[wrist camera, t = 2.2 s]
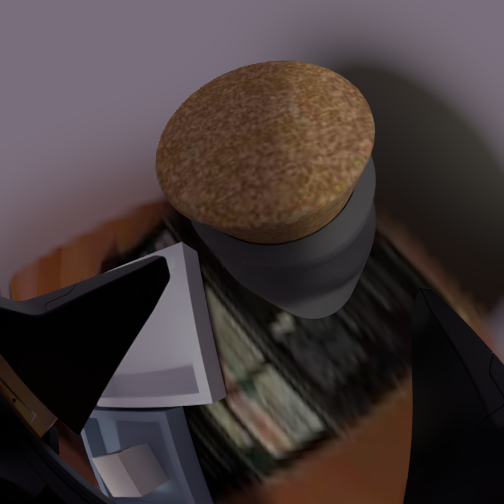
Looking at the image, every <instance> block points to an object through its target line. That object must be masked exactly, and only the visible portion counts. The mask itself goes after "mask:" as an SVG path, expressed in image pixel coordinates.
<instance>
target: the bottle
mask: <svg viewBox="0 0 504 504" xmlns="http://www.w3.org/2000/svg"><path fill="white" fill-rule="evenodd" d="M374 135H375V127H374V120H373V116H372V113H371V110H370V107H369V105H368V103H367V101H366V100H365V98H364V97H363V96H362V94H361V93H360V91H359V90H358V89H357V88H356V87H355V86H354V85H352V84H351V83H350V82H349V81H348V80H346V79H345V78H343V77H342V76H341V75H339V74H337V73H335V72H333V71H331V70H328V69H327V68H323V67H320V66H317V65H314V64H310V63H303V62H296V61H269V62H263V63H258V64H252V65H248V66H244V67H241V68H238V69H236V70H233V71H230V72H228V73H225V74H223V75H221V76H219V77H218V78H216V79H214V80H212V81H211V82H209V83H207V84H205V85H204V86H203V87H201V88H200V89H199V90H197V91H196V92H195V93H193V94H192V95H191V96H190V97H189V98H188V99H187V100H186V101H185V102H184V103H183V104H182V105H181V106H180V107H179V109H178V110H177V111H176V112H175V113H174V115H173V116H172V117H171V119H170V120H169V122H168V123H167V125H166V127H165V129H164V131H163V133H162V135H161V138H160V142H159V145H158V149H157V154H156V173H157V179H158V182H159V184H160V187H161V189H162V191H163V193H164V194H165V196H166V197H167V199H168V200H169V202H170V203H171V205H172V206H173V207H174V208H175V209H176V210H178V211H179V212H180V213H181V214H183V215H184V216H186V217H187V218H189V219H191V222H192V225H193V226H194V228H195V230H196V231H197V233H198V234H199V236H200V237H201V238H202V240H203V241H204V242H205V243H206V244H207V245H208V246H209V247H210V248H211V249H212V250H213V251H214V252H215V253H217V254H218V255H219V257H220V259H221V261H222V263H223V264H224V266H225V267H226V269H227V270H228V271H229V273H230V274H231V275H232V276H233V277H234V278H235V279H236V280H237V281H238V282H240V283H241V284H242V285H243V286H245V287H246V288H247V289H249V290H251V291H252V292H254V293H256V294H257V295H259V296H260V297H262V298H264V299H265V300H267V301H269V302H271V303H272V304H274V305H276V306H278V307H280V308H282V309H284V310H285V311H287V312H289V313H291V314H293V315H296V316H299V317H302V318H307V319H318V318H324V317H326V316H329V315H331V314H333V313H335V312H336V311H338V310H339V309H340V308H341V307H342V306H343V305H344V304H345V303H346V302H347V300H348V299H349V297H350V296H351V294H352V292H353V290H354V288H355V286H356V283H357V281H358V279H359V277H360V275H361V272H362V270H363V268H364V265H365V263H366V261H367V258H368V256H369V253H370V250H371V247H372V244H373V240H374V235H375V230H376V212H375V205H374V201H373V199H374V194H375V186H376V180H375V179H376V177H375V168H374V164H373V159H372V156H371V151H372V148H373V145H374Z"/></svg>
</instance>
